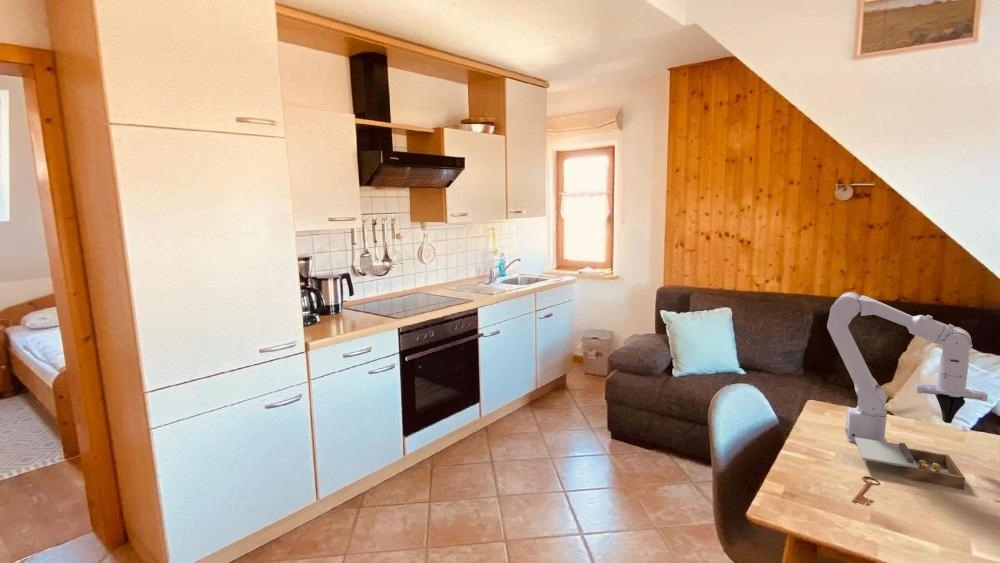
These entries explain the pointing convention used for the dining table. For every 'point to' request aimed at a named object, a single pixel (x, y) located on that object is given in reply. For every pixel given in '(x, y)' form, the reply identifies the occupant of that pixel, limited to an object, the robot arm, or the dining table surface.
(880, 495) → the dining table surface
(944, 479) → the box
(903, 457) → the lid
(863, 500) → the key
